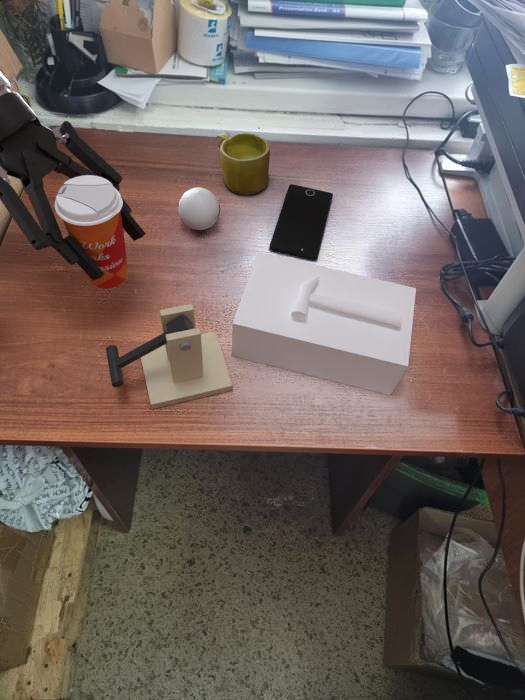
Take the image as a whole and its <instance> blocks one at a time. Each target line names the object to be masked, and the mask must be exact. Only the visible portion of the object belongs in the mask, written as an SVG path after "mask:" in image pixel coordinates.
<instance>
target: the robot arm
mask: <svg viewBox="0 0 525 700" xmlns="http://www.w3.org/2000/svg"><path fill="white" fill-rule="evenodd" d="M57 142H58V144H59V145H63V146H64V147H65V148H66V149H67V151H69V153H71V154H72V155H73V156H74V157H75V158H76V159H78V161H80V162H81V164H83V165H84V166H85V167H84V166H83V165H81V164H80V163H78V162H76V161H75V160H73V158H72V157H71V155H69V154H67V153H65V152H64V151H61V150H60V149H59V148H58V144H57ZM52 172H55V173H57V174H62V175H63V176H66V177H67V178H69V179H72V178H75V177H78V176H84V175H93V176H99V177H102V178H105V179H107V180H108V181H109V182H111V183H112V185H113V187H114V188H115V189H116V190H117V191H118V192H120V183H121V182H122V181H123V176H122V175H121V174H120V173H119V172H118V171H117V170H115V168H113V167H112V166H111V165H110V164H109V163H108V162H107V161H106V160H105V159H104V158H103V157H102V156H101V155H100V154H99V153H98V152H96V151H95V149H93V148H92V147H91V146H90V145H89V144H88V143H87V142H85V140H84V139H82V138H81V137H80V136H79V134H78V132H77V131H76V129H75V128H74V126H73V125H72V123H71V122H70V121H68V120H64V121H63V122H62V123H61V124H60V125H58V126H57V127H53V128H52V129H51V128H49V127H47V126H46V125H44V124H43V123H41V121H40V119H39V117H38V116H37V114H36V113H35V112H34V110H33V109H32V108H31V107H30V105H29V104H28V103H27V102H26V101H25V100H24V98H23V97H22V96H21V95H20V93H19V92H15V91H14V90H13V91H11V83H10V82H9V80H8V78H6V76H5V75H3V73H2V72H1V71H0V201H1V203H2V205H3V206H4V208H5V209H6V211H7V212H8V213H9V215H10V216H11V218H12V219H13V220H14V222H15V223H16V225H17V226H18V227H19V229H20V231H21V232H22V233H23V235H24V237H26V240H28V242H29V244H30V246H31V247H32V248H33V249H34V250H36V251H41V250H44V249H46V248H53V249H54V250H55V251H56V252H57V253H58V254H59V255H60V256H61V257H62V258H63V259H64V260H65V262H67V263H68V264H69V265H71V266H73V265H75V264H77V266H79V267H80V269H82V271H83V272H84V274H85V275H86V274H87V275H88V276H89V277H90V278H91V279H92V280H93V281H94V280H96V279H99V278H101V277H102V276H103V275H104V274H105V273H104V272H103V271H102V270H101V269H100V268H99V267H98V266H97V264H96V263H95V262H94V261H93V260H92V259H91V258H90V257H89V256H88V255H87V253H86V252H85V251H84V250H83V249H82V248H81V247H80V246H79V245H78V244H77V243H76V241H75V240H74V239H73V238H72V237H71V236H70V235H69V234H68V235H67V236H65V237H64V236H63V233H62V231H61V229H60V225H59V224H58V221H57V219H56V216H55V213H54V211H53V208H52V205H51V204H50V201H49V198H48V195H47V194H46V191H45V188H44V181H43V179H44V178H45V177H46V176H47V175H49V174H51V173H52ZM8 176H9V177H12V178H14V179H15V178H16V179H17V180H18V179H19V181H20V183H21V186H22V189H23V191H24V193H25V194H26V195H27V196H28V199H29V201H30V204H31V206H32V209H33V211H34V214H35V217H36V219H35V218H34V216H33V215H32V213H31V212H30V211H29V208H27V206H26V204H25V203H24V201H23V200H22V199H21V197H20V195H18V193H17V191H16V190H15V189H14V188H13V186H12V185H11V181H10V179H9V178H8ZM121 198H122V200H123V205H122V208H121V210H120V211H121V218H122V225H123V231H125V233H127V235H128V236H129V237H130V239H131V240H132V241H133V242H135V241H137V240H139V239H141V238H144V236H146V234H147V233H146V231H144V229H143V228H142V227H141V225H140V224H139V223H138V222H137V221H136V219H135V218H134V217H133V216H132V215H131V213H133V210H132V208H131V207H130V205H129V204H128V203H127V202H126V200H125V199H124V197H122V196H121ZM37 221H38V222H37Z"/></svg>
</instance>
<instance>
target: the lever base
mask: <svg viewBox="0 0 525 700" xmlns="http://www.w3.org/2000/svg"><path fill="white" fill-rule="evenodd" d="M159 315H160V316H159V317H160V321H161V328H162V334H163V333H164V332H166V331H167V328H166V324H167V323H169V322H171V321H173V320H174V319H176V318H178V317H180V316H181V315H184V316H185V317H187V318H188V319H189V320H190V321H192V322H193V326H194V329H190V330H185V331H180V332H176V333H171V334H166V341H167V344H165V345H163V346H161V347H159V348H158V349H156V350H154V351H152V352H150V353H148V354H147V355H145V356H143V357H141V358H140V361H141V365H142V371H143V376H144V380H145V385H146V389H147V395H148V398H149V400H148V401H149V404H150V408H151V410H154V409H159V408H163V407H166V406H167V407H168V406H171V405H175V404H180V403H184V402H189V401H193V400H197V399H202V398H205V397H209V396H215V395H218V394H222V393H226V392H231V391H233V387H234V386H233V385H234V384H233V382H232V379H231V376H230V373H229V370H228V369H229V368H228V366H227V363H226V360H225V356H224V353H223V349H222V347H221V344H220V341H219V337H218V334H217V331H216V330H215V331H210V332H206V333H202V332H201V328H200V327H196V319H195V318H196V317H195V308H194V305H193V303H190V304H183V305H178V306H174V307H169V308H164V309H159Z"/></svg>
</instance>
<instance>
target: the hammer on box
mask: <svg viewBox="0 0 525 700" xmlns="http://www.w3.org/2000/svg"><path fill="white" fill-rule="evenodd" d="M416 293H417V288H416V287H412V286H408V285H404V284H399V283H395V282H392V281H387V280H383V279H379V278H375V277H370V276H366V275H361V274H357V273H353V272H350V271H349V272H348V271H344V270H340V269H336V268H332V267H327V266H324V265H323V266H322V265H319V264H314V263H311V262H305V261H301V260H296V259H293V258H289V257H285V256H280V255H276V254H272V253H267V252H262V251H259V250H258V251H256V255H255V258H254V261H253V263H252V266H251V269H250V273H249V275H248V278H247V281H246V284H245V287H244V290H243V292H242V295H241V298H240V302H239V305H238V307H237V310H236V313H235V316H234V319H233V321H232V330H231V356H232V357H235V358H240V359H243V360H247V361H251V362H255V363H259V364H263V365H267V366H272V367H276V368H280V369H284V370H286V371H291V372H295V373H299V374H304V375H307V376H311V377H315V378H319V379H324V380H328V381H330V382H331V381H332V382H336V383H339V384H343V385H347V386H350V387H355V388H359V389H363V390H367V391H370V392H371V391H372V392H376V393H379V394H384V395H387V396H391V395H392V393H393V392H394V390H395V389H396V387H397V385H398V384H399V382H400V381H401V379H402V378H403V375H404V374H405V372H406V371H407V369H408V368H409V362H410V354H411V353H410V351H411V343H412V332H413V324H414V312H415V302H416V295H417V294H416Z"/></svg>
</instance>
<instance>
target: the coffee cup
mask: <svg viewBox="0 0 525 700" xmlns="http://www.w3.org/2000/svg"><path fill="white" fill-rule="evenodd" d="M121 197H122V195H121V194H120V191H117V190H116V189H115V188H114V187H113V185H112V183H111V182H109V181H108V180H107V179H105V178H102V177H99V176H93V175H84V176H78V177H75V178H72V179H71V178H69V179H68V180H66V181H65V182H64V183H63V184H62V186H60V188H59V190H58V191H57V195H56V196H55V200H54V209H55V213H56V214H57V216H58V217H59V218H60V219H61V220H62V222H63V225H64V227H65V229H66V231H67V234H68V235H70V236H71V237H72V238H73V239H74V240H75V241H76V243H77V244H78V245H79V246H80V247H81V248H82V249H83V250H84V251H85V252H86V253H87V255H88V256H89V257H90V258H91V259H92V260H93V261H94V262H95V263H96V264H97V266H98V267H99V268H100V269H101V270H102V271H103V272H104V273H105V274H104V275H103V276H102V277H101V278H99V279H96V280H94V281H93V280H92V279H91V278H90V277H89V276H88V275H87V274H86V273H85V276H86V277H87V279H88V281H89V283H90V284H91V285H93V286H94V287H96V288H99V289H105V290H107V289H113V288H115V287H119V286H120V285H122V284H123V283H124V282H125V281H126V280H127V278H128V277H129V276H128V275H129V264H128V257H127V249H126V241H125V233H124V229H123V225H122V218H121V211H120V210H121V208H122V205H123V200H122V198H123V197H122V198H121Z"/></svg>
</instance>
